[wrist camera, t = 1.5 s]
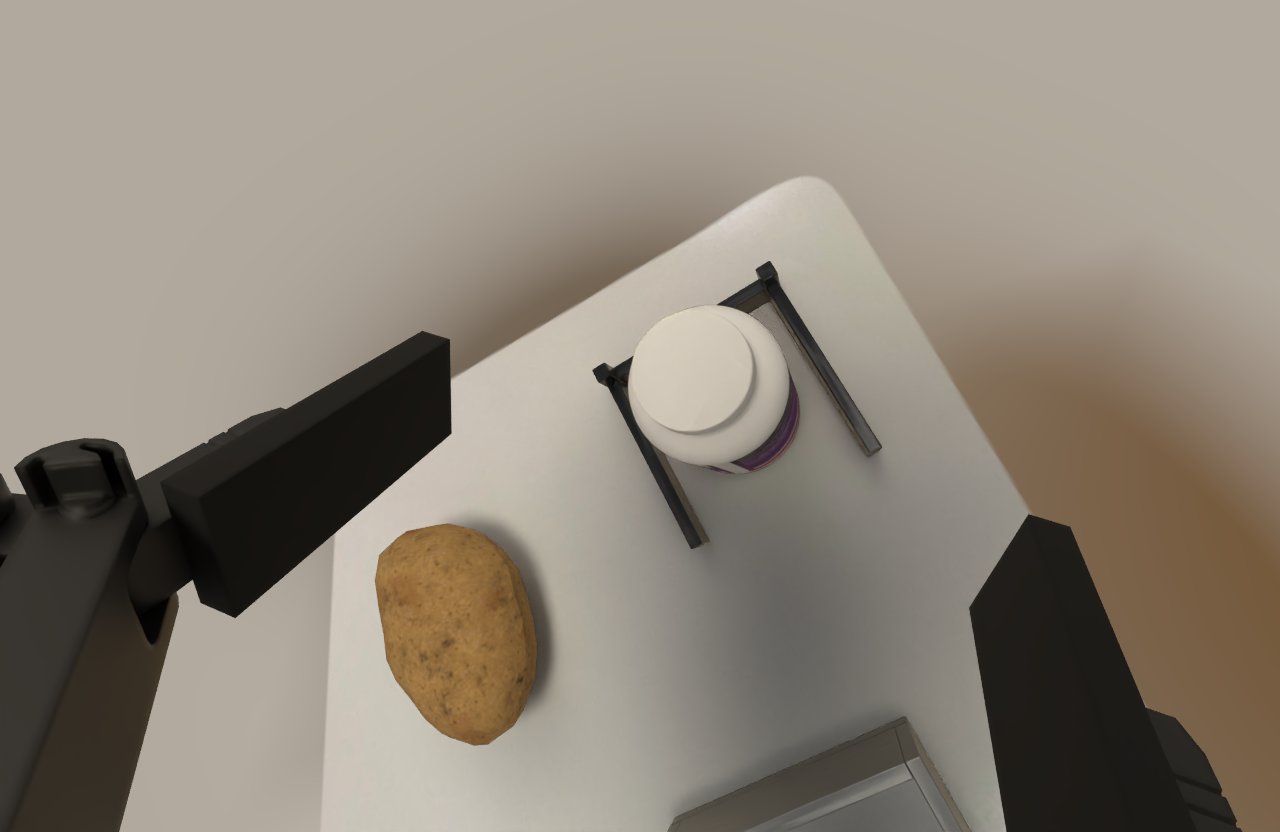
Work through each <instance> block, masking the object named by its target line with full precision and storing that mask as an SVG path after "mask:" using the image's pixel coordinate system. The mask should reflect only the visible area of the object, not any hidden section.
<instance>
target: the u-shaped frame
mask: <svg viewBox="0 0 1280 832" xmlns="http://www.w3.org/2000/svg"><path fill="white" fill-rule="evenodd" d="M756 273H757V276H758V280H757V281H755V282H753V283H752V284H750V285H748V286H747V287H745V288H744V289H742V290H740V291H739V292H737V293H735V294H734V295H732V296H731V297H729V298H727V299H726V300H724V301H722V302H721V303H719V304H717V305H718V306H725V307H731V308H734V309H737V310H740V311H742V312H744V313H746V314H748V313H749V312H751V311H753V310H754V309H756V308H758V307H759V306H761V305H763V304H764V303H766V302H768V301H769V302H770V301H771V303H772V305H773V306H774V308H775V309H776V311H777V313H778V314H779V316H780V317H781V319H782V321H783V322H784V324H785V325H786V327H787V329H788V330H789V332H790V333H791V335H792V337H793V338H794V340H795V342H796V343H797V345H798V346H799V348H800V350H801V351H802V353H803V354H804V356H805V358H806V359H807V361H808V362H809V364H810V366H811V367H812V369H813V370H814V372H815V374H816V375H817V377H818V379H819V380H820V382H821V383H822V385H823V387H824V388H825V390H826V391H827V393H828V395H829V396H830V398H831V399H832V401H833V403H834V404H835V406H836V407H837V409H838V411H839V412H840V414H841V415H842V417H843V419H844V420H845V422H846V424H847V425H848V427H849V428H850V430H851V432H852V433H853V435H854V436H855V438H856V440H857V441H858V443H859V444H860V446H861V448H862V449H863V451H864V452H865V454H866V456H867V457H869V456H871V455H873V454H875V453H877V452H878V451H879V450H880V449H881V448H882V446H881V444H880V443H879V441H878V440H877V438H876V436H875V435H874V433H873V432H872V430H871V429H870V427H869V425H868V424H867V422H866V421H865V419H864V418H863V416H862V414H861V413H860V411H859V410H858V408H857V406H856V405H855V403H854V402H853V400H852V399H851V397H850V395H849V394H848V392H847V391H846V389H845V387H844V386H843V384H842V383H841V381H840V380H839V378H838V376H837V375H836V373H835V372H834V370H833V368H832V367H831V365H830V364H829V362H828V361H827V359H826V357H825V356H824V354H823V353H822V351H821V349H820V348H819V346H818V345H817V343H816V342H815V340H814V338H813V337H812V335H811V334H810V332H809V331H808V329H807V327H806V326H805V324H804V323H803V321H802V319H801V318H800V316H799V315H798V313H797V312H796V310H795V308H794V307H793V305H792V304H791V302H790V300H789V299H788V297H787V296H786V294H785V293H784V291H783V289H782V288H781V286H780V282H779V278H778V273H777V271H776V270H775V268H774V266H773V265H772V263H771V262H770V261H768V262H766V263H765V264H763V265H762V266H760V267H758V268H757V269H756ZM633 357H634V356H633ZM633 357H631V358H629V359H628V360H626V361H624V362H623V363H621V364H620V365H618V366H616V367H615V368H612V367H611V366H609V365H608V364H606V363H603V364H601V365H600V366H598V367H596V368H595V369H593V373H594V375H595V377H596V379H597V381H598V382H599V383H601V384H602V385H604V386H606V387H608V388H609V390H610V392H611V394H612V396H613V398H614V400H615V402H616V404H617V406H618V407H619V409H620V411H621V413H622V415H623V417H624V419H625V421H626V423H627V425H628V427H629V429H630V431H631V433H632V435H633V437H634V439H635V441H636V442H637V444H638V446H639V448H640V450H641V452H642V454H643V456H644V458H645V460H646V462H647V464H648V466H649V468H650V470H651V472H652V474H653V476H654V477H655V479H656V481H657V483H658V485H659V487H660V489H661V491H662V493H663V495H664V497H665V499H666V501H667V503H668V505H669V507H670V509H671V511H672V512H673V514H674V516H675V518H676V520H677V522H678V524H679V526H680V528H681V530H682V532H683V534H684V536H685V538H686V540H687V542H688V544H689V546H690V548H691V549H694V548H697V547H700V546H702V545H704V544H706V543H708V542H709V539H708V537H707V535H706V533H705V531H704V529H703V527H702V525H701V523H700V522H699V520H698V518H697V516H696V514H695V512H694V510H693V508H692V506H691V504H690V502H689V501H688V499H687V497H686V495H685V493H684V491H683V489H682V487H681V485H680V483H679V482H678V480H677V478H676V476H675V474H674V472H673V470H672V468H671V466H670V464H669V462H668V461H667V459H666V457H665V455H664V453H663V452H662V451H660V450H659V449H658V448H657V447H655V446H654V445H653V444H652V443H651V442H650V441H649V440H648V439H647V438H646V436H645V435H644V434H643V432H642V431H641V429H640V428H639V426H638V424H637V422H636V420H635V417H634V415H633V412H632V409H631V405H630V401H629V394H628V381H629V373H630V369H631V365H632V361H633Z"/></svg>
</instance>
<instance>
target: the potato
mask: <svg viewBox="0 0 1280 832" xmlns="http://www.w3.org/2000/svg"><path fill="white" fill-rule="evenodd" d="M375 584H376V591H377V599H378V606H379V612H380V617H381V622H382V628H383V633H384V642H385V650H386V659H387V662H388V664H389V666H390V668H391V671H392V673H393V675H394V677H395V680H396V681H397V683H398V684H399V685H400V686H401V688H402V689H403V690H404V691H405V693H406V694H407V695H408V696H409V698H410V699H411V700H412V702H413V703H414V704H415V706H416V707H417V708H418V710H419V711H420V713H421V714H422V715H423V717H424V718H425V719H426V720H427V721H428V722H429V723H430V724H432V725H433V726H434V727H435V728H436V729H437V730H438V731H440V732H441V733H442V734H444V735H446V736H448V737H450V738H453V739H456V740H459V741H462V742H465V743H468V744H471V745H487V744H489V743H491V742H492V741H493V740H495V739H496V738H497V737H499V736H500V735H502V734H503V733H504V732H506V731H507V730H509V729H510V728H511V727H513V726H514V724H515V723H516V721H517V719H518V718H519V716H520V714H521V713H522V711H523V709H524V707H525V704H526V701H527V699H528V696H529V693H530V691H531V688H532V685H533V683H534V680H535V676H536V660H537V642H536V635H535V628H534V621H533V617H532V613H531V609H530V605H529V601H528V597H527V594H526V591H525V588H524V585H523V582H522V579H521V576H520V572H519V570H518V569H517V567H516V566H515V565H514V563H513V562H512V561H511V559H510V558H509V556H508V555H507V554H506V552H505V551H504V550H503V549H502V548H501V547H499V546H498V545H497V544H496V543H494V542H493V541H492V540H491V539H489V538H488V537H487V536H486V535H484V534H482V533H480V532H477V531H475V530H473V529H469V528H464V527H460V526H456V525H452V524H442V525H435V526H430V527H425V528H420V529H416V530H411V531H407V532H405V533H404V534H402V535H401V536H399V537H398V538H397V539H396V540H395V541H394V542H393V543H392V544H391V545H389V546H388V547H387V548H386V549H385V550H384V551H383V552H382V553H381V554H380V555H379V560H378V566H377V572H376V578H375Z"/></svg>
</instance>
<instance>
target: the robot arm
mask: <svg viewBox="0 0 1280 832" xmlns="http://www.w3.org/2000/svg"><path fill="white" fill-rule="evenodd" d="M450 434H451V379H450V340H449V339H447V338H444V337H440V336H436V335H433V334H430V333H427V332H424V331H421V332H420V333H418V334H416V335H414V336H413V337H411V338H409V339H408V340H406V341H404V342H402V343H401V344H399V345H397V346H395V347H394V348H392V349H390V350H389V351H387V352H385V353H383V354H381V355H380V356H378V357H376V358H374V359H373V360H371V361H369V362H368V363H366V364H364V365H362V366H361V367H359V368H357V369H355V370H354V371H352V372H350V373H348V374H347V375H345V376H343V377H342V378H340V379H338V380H336V381H335V382H333V383H331V384H329V385H327V386H326V387H324V388H322V389H321V390H319V391H317V392H315V393H314V394H312V395H310V396H309V397H307V398H305V399H303V400H302V401H300V402H298V403H296V404H295V405H293V406H291V407H289V408H288V409H283V408H277V409H274V410H271V411H267V412H264V413H261V414H257V415H254V416H251V417H249V418H247V419H246V420H244V421H242V422H240V423H238V424H237V425H235V426H233V427H231V428H229V429H228V432H226V433H225V432H222V433H221V434H219V435H217V436H215V437H213V438H212V439H210V440H209V442H208V443H207V444H206V443H202V444H201V445H199V446H197V447H195V448H193V449H191V450H190V451H188V452H186V453H184V454H182V455H181V456H179V457H177V458H175V459H174V460H172V461H170V462H168V463H166V464H164V465H163V466H161V467H159V468H157V469H155V470H154V471H152V472H150V473H148V474H146V475H145V476H143V477H141V478H139V479H137V480H135V477H134V475H133V472H132V469H131V467H130V464H129V461H128V458H127V456H126V453H125V450H124V449H123V448H122V447H121V446H120V445H119V444H118V443H117V442H113V441H109V440H106V439H88V438H87V439H86V438H84V439H78V440H71V441H65V442H61V443H58V444H54V445H51V446H48V447H45V448H42V449H40V450H38V451H36V452H35V453H32V454H30V455H29V456H27V457H25V458H24V459H23V460H22V461H21V462H20V463H18V464H17V465H16V466H15V467H14V469H15V471H16V473H17V475H18V477H19V479H20V481H21V483H22V486H23V488H24V489H25V492H26V494H27V495H24V494H14V493H11V492H10V490H9V488H8V487H7V484H6V482H5V480H4V478H3V476H2V474H0V832H119V830H120V826H121V823H122V819H123V815H124V811H125V807H126V804H127V800H128V796H129V793H130V789H131V785H132V781H133V777H134V774H135V770H136V766H137V762H138V758H139V755H140V751H141V747H142V744H143V740H144V736H145V732H146V729H147V725H148V721H149V717H150V713H151V709H152V706H153V702H154V698H155V694H156V691H157V687H158V683H159V680H160V676H161V672H162V668H163V665H164V661H165V657H166V653H167V649H168V646H169V642H170V638H171V634H172V631H173V627H174V623H175V619H176V616H177V612H178V608H179V602H178V595H177V591H178V590H179V589H181V588H182V587H183V586H185V585H186V584H187V583H189V582H190V581H191V580H193V581H194V585H195V588H196V590H197V593H198V596H199V599H200V602H201V603H202V604H205V605H207V606H209V607H211V608H214V609H216V610H218V611H220V612H223V613H225V614H227V615H229V616H232V617H234V618H236V617H237V616H238V615H240V614H241V613H242V612H243V611H244V610H245V609H247V608H248V607H249V606H250V605H251V604H252V603H253V602H255V601H256V600H257V599H258V598H259V597H260V596H262V595H263V594H264V593H265V592H266V591H267V590H269V589H270V588H271V587H272V586H273V585H274V584H276V583H277V582H278V581H279V580H280V579H282V578H283V577H284V576H285V575H286V574H288V573H289V572H290V571H291V570H292V569H293V568H295V567H296V566H297V565H298V564H299V563H300V562H302V560H304V559H305V558H306V557H307V556H308V555H310V554H311V553H312V552H313V551H314V550H316V549H317V548H318V547H319V546H320V545H321V544H323V543H324V542H325V541H326V540H327V539H328V538H330V537H331V536H332V535H333V534H334V533H336V532H337V531H338V530H339V529H340V528H341V527H343V526H344V525H345V524H346V523H347V522H348V521H350V520H351V519H352V518H353V517H354V516H355V515H357V514H358V513H359V512H360V511H361V510H362V509H364V508H365V507H366V506H367V505H368V504H369V503H371V502H372V501H373V500H374V499H375V498H377V497H378V496H379V495H380V494H381V493H382V492H384V491H385V490H386V489H387V488H388V487H389V486H391V485H392V484H393V483H394V482H395V481H396V480H398V479H399V478H400V477H401V476H402V475H403V474H405V473H406V472H407V471H408V470H409V469H410V468H412V467H413V466H414V465H415V464H416V463H418V462H419V461H420V460H421V459H422V458H423V457H425V456H426V455H427V454H428V453H429V452H430V451H432V450H433V449H434V448H435V447H436V446H437V445H439V444H440V443H441V442H442V441H443V440H444V439H446V438H447V437H448V436H449V435H450ZM969 610H970V616H971V622H972V628H973V634H974V640H975V646H976V652H977V658H978V664H979V670H980V676H981V681H982V687H983V693H984V699H985V705H986V711H987V717H988V723H989V729H990V735H991V741H992V747H993V753H994V759H995V765H996V771H997V777H998V783H999V789H1000V795H1001V801H1002V807H1003V813H1004V819H1005V825H1006V831H1007V832H1242V831H1241V829H1240V828H1237V827H1236V822H1237V820H1236V818H1235V816H1234V814H1233V812H1232V810H1231V807H1230V805H1229V803H1228V801H1227V799H1226V798H1225V797H1222V795H1221V792H1222V789H1221V786H1220V784H1219V782H1218V780H1217V778H1216V776H1215V774H1214V772H1213V770H1212V768H1211V765H1210V764H1209V761H1208V759H1207V757H1206V755H1205V753H1204V752H1203V751H1202V750H1201V749H1200V747H1199V746H1198V745H1197V744H1196V743H1195V741H1194V740H1193V739H1192V738H1191V736H1190V735H1189V734H1188V733H1187V732H1186V730H1185V729H1184V728H1183V727H1182V725H1181V724H1180V723H1179V722H1178V721H1177V719H1176V718H1173V717H1171V716H1168V715H1165V714H1162V713H1160V712H1157V711H1154V710H1151V709H1148V708H1146V707H1145V705H1144V703H1143V700H1142V698H1141V696H1140V693H1139V691H1138V689H1137V686H1136V684H1135V681H1134V679H1133V676H1132V674H1131V672H1130V669H1129V667H1128V664H1127V662H1126V660H1125V657H1124V655H1123V652H1122V650H1121V648H1120V645H1119V643H1118V641H1117V638H1116V636H1115V633H1114V631H1113V628H1112V626H1111V624H1110V622H1109V619H1108V616H1107V614H1106V612H1105V609H1104V607H1103V604H1102V602H1101V600H1100V597H1099V595H1098V593H1097V590H1096V588H1095V586H1094V583H1093V581H1092V578H1091V576H1090V573H1089V571H1088V569H1087V566H1086V564H1085V561H1084V559H1083V557H1082V554H1081V552H1080V550H1079V547H1078V545H1077V542H1076V540H1075V537H1074V535H1073V533H1072V530H1071V528H1070V527H1069V526H1066V525H1062V524H1059V523H1055V522H1052V521H1049V520H1045V519H1042V518H1039V517H1036V516H1033V515H1029V514H1028V516H1027V518H1026V519H1025V521H1024V522H1023V524H1022V525H1021V527H1020V529H1019V530H1018V532H1017V533H1016V535H1015V536H1014V538H1013V540H1012V541H1011V543H1010V544H1009V546H1008V547H1007V549H1006V551H1005V552H1004V554H1003V555H1002V557H1001V558H1000V560H999V562H998V563H997V565H996V566H995V568H994V569H993V571H992V573H991V574H990V576H989V577H988V579H987V581H986V582H985V584H984V585H983V587H982V588H981V590H980V592H979V593H978V595H977V596H976V598H975V599H974V601H973V603H972V604H971V606H970V607H969Z"/></svg>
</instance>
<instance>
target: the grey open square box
mask: <svg viewBox="0 0 1280 832" xmlns="http://www.w3.org/2000/svg"><path fill="white" fill-rule="evenodd" d="M668 832H971V830H970V828H969V827H968V825H967V823H966V821H965V820H964V818H963V816H962V814H961V813H960V811H959V809H958V807H957V806H956V804H955V802H954V800H953V798H952V797H951V795H950V793H949V791H948V790H947V788H946V786H945V784H944V783H943V781H942V779H941V777H940V776H939V774H938V772H937V770H936V769H935V767H934V765H933V763H932V762H931V760H930V758H929V756H928V755H927V753H926V751H925V749H924V748H923V746H922V744H921V742H920V741H919V739H918V737H917V735H916V733H915V732H914V730H913V728H912V726H911V725H910V723H909V721H908V719H907V718H906V717H903V718H900V719H898V720H896V721H894V722H891V723H889V724H887V725H885V726H882V727H880V728H878V729H875V730H873V731H871V732H869V733H866V734H864V735H862V736H860V737H857V738H855V739H853V740H850V741H848V742H846V743H844V744H841V745H839V746H837V747H835V748H832V749H830V750H828V751H825V752H823V753H821V754H819V755H816V756H814V757H812V758H810V759H807V760H805V761H803V762H800V763H798V764H796V765H794V766H791V767H789V768H787V769H785V770H782V771H780V772H778V773H776V774H773V775H771V776H769V777H766V778H764V779H762V780H760V781H757V782H755V783H753V784H751V785H748V786H746V787H744V788H741V789H739V790H737V791H735V792H732V793H730V794H728V795H726V796H723V797H721V798H719V799H716V800H714V801H712V802H710V803H707V804H705V805H703V806H701V807H698V808H696V809H694V810H691V811H689V812H687V813H685V814H682V815H680V816H678V817H676V818H674V820H673V822H672V824H671V826H670V828H669V830H668Z"/></svg>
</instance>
